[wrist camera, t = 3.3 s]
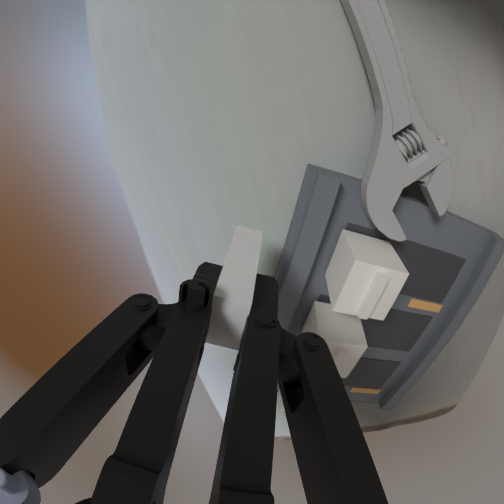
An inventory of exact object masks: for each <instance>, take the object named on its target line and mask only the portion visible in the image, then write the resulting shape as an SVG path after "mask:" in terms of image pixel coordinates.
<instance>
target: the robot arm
mask: <svg viewBox="0 0 504 504" xmlns="http://www.w3.org/2000/svg"><path fill="white" fill-rule="evenodd" d="M262 234H263V231H259V230H254V229H250V228H246V227H242V226H238V225H237V228H236V230H235V233H234V236H233V239H232V242H231V245H230V248H229V251H228V253H227V256H226V259H225V262H224V265H223V266H220V265H216V264H212V263H208V262H204V263H203V264H201V265H200V266H199V267H198V269H197V271H196V274H195V275H194V277H193V279H191V280H186V281H184V282H183V283H182V284H181V285H180V290H179V302H177V303H174V304H158V302H157V300H156V298H154V297H153V296H151V295H148V294H135V295H133V296H131V297H129V298H128V299H127V300H126V301H125V302H124V303H122V304H121V305H120V306H119V307H118V308H116V309H115V310H114V311H113V312H112V313H111V314H110V315H109V316H108V317H106V318H105V319H104V320H103V321H102V322H101V323H100V324H98V325H97V326H96V327H95V328H94V329H93V330H92V331H91V332H90V333H89V334H88V335H86V336H85V337H84V338H83V339H82V340H81V341H80V342H79V343H77V344H76V345H75V346H74V347H73V348H72V349H71V350H70V351H69V352H68V353H67V354H66V355H65V356H63V357H62V358H61V359H60V360H59V361H58V362H57V363H56V364H55V365H54V366H53V367H52V368H51V369H50V370H49V371H48V372H47V373H45V375H43V376H42V377H41V378H40V379H39V380H38V381H37V382H36V383H35V384H34V385H33V386H32V387H31V388H30V389H29V390H28V391H27V392H26V393H25V394H24V395H23V396H22V397H21V398H20V399H19V400H18V401H17V402H16V403H15V404H14V405H13V406H12V407H11V408H10V409H9V410H8V411H7V412H6V413H5V414H4V415H3V416H2V418H0V504H39V503H40V502H41V496H40V491H39V489H38V488H40V487H42V486H43V485H44V484H46V483H47V482H48V481H50V480H51V479H52V478H53V477H54V476H55V475H56V474H57V473H58V472H59V471H60V470H61V468H62V467H63V466H64V465H65V463H66V462H67V461H68V459H70V457H71V456H72V455H73V454H74V452H75V451H76V450H77V449H78V447H79V446H80V445H81V444H82V443H83V441H84V440H85V439H86V438H87V437H88V435H89V434H90V433H91V432H92V430H93V429H94V428H95V427H96V426H97V424H98V423H99V422H100V421H101V420H102V418H103V417H104V416H105V415H106V413H107V412H108V411H109V410H110V409H111V407H112V406H113V405H114V404H115V403H116V401H117V400H118V399H119V398H120V397H121V395H122V394H123V393H124V392H125V391H126V389H127V388H128V387H129V386H130V385H131V383H132V382H133V381H134V380H135V379H136V377H137V376H138V375H139V374H140V373H141V371H142V370H143V369H144V368H145V367H146V365H147V364H148V363H149V362H150V361H151V359H152V358H153V359H152V362H151V364H150V367H149V369H148V371H147V374H146V376H145V378H144V380H143V383H142V385H141V388H140V390H139V392H138V395H137V397H136V400H135V402H134V405H133V407H132V410H131V412H130V414H129V417H128V420H127V422H126V424H125V427H124V430H123V432H122V435H121V437H120V440H119V442H118V445H117V448H116V450H115V452H114V454H113V455H111V456H109V457H108V458H107V460H106V461H105V464H104V466H103V468H102V471H101V474H100V476H99V479H98V481H97V484H96V487H95V490H94V493H93V495H92V498H88V499H84V500H82V501H79V502H77V503H75V504H163V501H164V495H165V489H166V484H167V480H168V477H169V473H170V469H171V466H172V462H173V458H174V454H175V451H176V447H177V443H178V439H179V436H180V432H181V429H182V425H183V421H184V418H185V414H186V411H187V407H188V403H189V400H190V396H191V393H192V389H193V386H194V382H195V378H196V375H197V372H198V368H199V365H200V361H201V358H202V354H203V350H204V344H205V342H206V343H210V344H214V345H218V346H223V347H227V348H231V349H236V350H239V352H238V355H237V358H236V362H235V365H234V369H233V370H234V374H233V379H232V385H231V390H230V396H229V401H228V406H227V412H226V417H225V422H224V428H223V433H222V439H221V444H220V449H219V455H218V460H217V465H216V470H215V476H214V481H213V486H212V492H211V497H210V501H209V504H274V497H273V495H272V493H271V489H270V486H271V485H270V484H271V474H272V461H273V448H274V434H275V419H276V403H277V385H279V389H280V393H281V397H282V401H283V405H284V410H285V414H286V418H287V422H288V426H289V430H290V434H291V438H292V442H293V446H294V451H295V455H296V459H297V463H298V467H299V471H300V475H301V479H302V483H303V487H304V491H305V495H306V499H307V503H308V504H388V502H387V499H386V496H385V493H384V490H383V487H382V484H381V482H380V479H379V476H378V473H377V471H376V468H375V465H374V462H373V459H372V457H371V454H370V451H369V449H368V446H367V443H366V441H365V438H364V436H363V433H362V430H361V428H360V425H359V422H358V420H357V417H356V415H355V412H354V409H353V407H352V404H351V402H350V399H349V397H348V394H347V392H346V389H345V387H344V384H343V382H342V379H341V377H340V374H339V372H338V369H337V367H336V364H335V362H334V360H333V357H332V355H331V352H330V350H329V347H328V345H327V343H326V341H325V340H324V339H323V338H322V337H321V336H319V335H317V334H315V333H312V332H303V333H301V334H299V335H298V336H296V335H293V334H291V333H289V332H288V331H286V330H285V329H283V328H282V327H281V325H280V322H279V320H278V318H277V317H278V292H279V284H278V282H277V280H276V279H275V278H274V277H270V276H266V275H261V274H257V267H258V261H259V254H260V248H261V241H262Z"/></svg>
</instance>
